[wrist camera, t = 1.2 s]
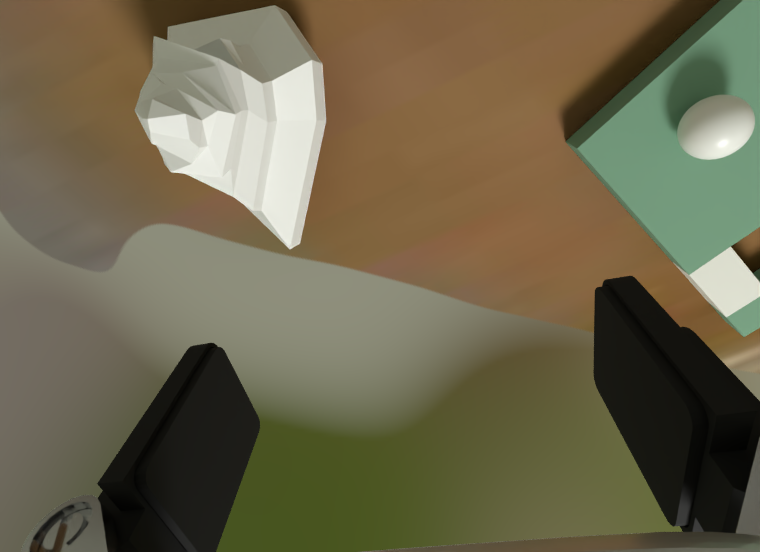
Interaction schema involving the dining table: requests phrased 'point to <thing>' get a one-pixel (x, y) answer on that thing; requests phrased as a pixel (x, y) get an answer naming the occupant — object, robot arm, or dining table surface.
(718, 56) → the green
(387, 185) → the dining table surface
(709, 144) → the ball
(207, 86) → the soft serve ice cream
